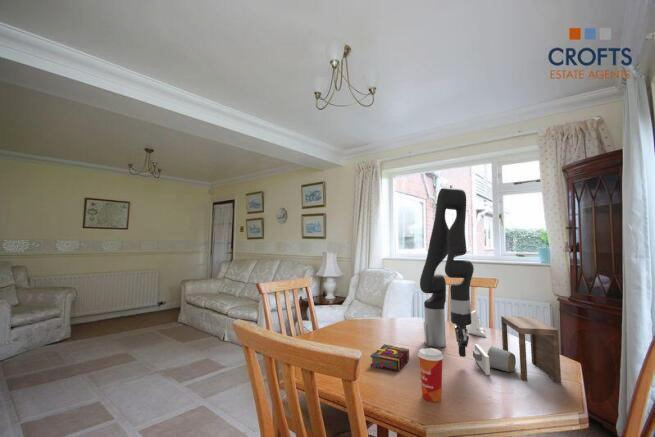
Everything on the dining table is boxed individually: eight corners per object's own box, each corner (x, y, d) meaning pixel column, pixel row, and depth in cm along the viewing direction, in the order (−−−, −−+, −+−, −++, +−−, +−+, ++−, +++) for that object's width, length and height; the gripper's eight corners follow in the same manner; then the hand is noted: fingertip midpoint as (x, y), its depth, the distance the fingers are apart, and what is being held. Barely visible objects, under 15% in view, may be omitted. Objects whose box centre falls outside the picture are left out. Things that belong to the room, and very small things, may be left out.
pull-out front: (480, 374, 110) (479, 356, 111) (470, 359, 124) (469, 343, 124) (489, 375, 110) (489, 356, 110) (478, 360, 123) (477, 344, 124)
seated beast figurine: (486, 337, 153) (485, 313, 154) (467, 335, 157) (466, 312, 158) (485, 332, 162) (484, 309, 163) (467, 330, 166) (467, 308, 167)
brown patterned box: (410, 360, 125) (409, 347, 126) (397, 374, 112) (397, 360, 112) (384, 354, 131) (383, 343, 132) (369, 368, 118) (368, 354, 118)
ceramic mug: (511, 375, 110) (510, 354, 110) (487, 369, 116) (486, 348, 116) (519, 368, 117) (518, 347, 118) (496, 362, 123) (495, 342, 123)
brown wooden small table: (522, 380, 106) (520, 328, 107) (503, 360, 123) (501, 315, 125) (561, 383, 103) (558, 329, 105) (535, 363, 121) (533, 317, 123)
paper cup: (415, 392, 98) (414, 347, 99) (438, 391, 99) (436, 346, 100) (425, 405, 90) (423, 356, 91) (449, 403, 91) (448, 355, 92)
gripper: (447, 307, 127) (448, 349, 125) (454, 314, 114) (455, 361, 112) (466, 307, 125) (468, 350, 124) (475, 315, 112) (477, 363, 111)
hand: (462, 356), depth 118 cm, fingers closed
